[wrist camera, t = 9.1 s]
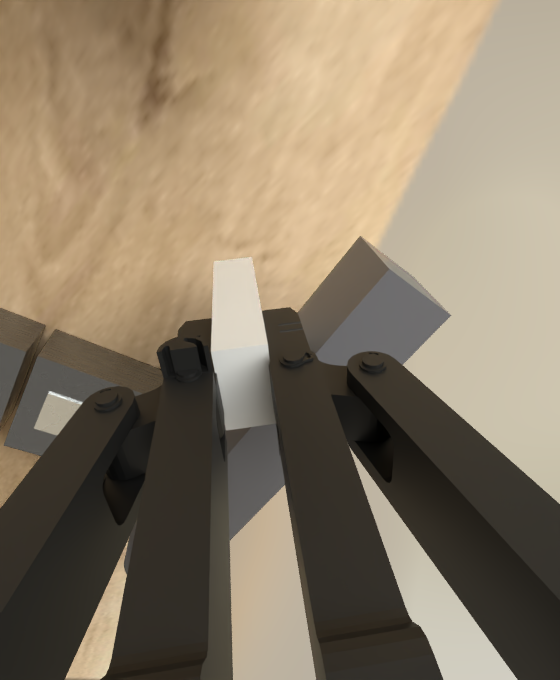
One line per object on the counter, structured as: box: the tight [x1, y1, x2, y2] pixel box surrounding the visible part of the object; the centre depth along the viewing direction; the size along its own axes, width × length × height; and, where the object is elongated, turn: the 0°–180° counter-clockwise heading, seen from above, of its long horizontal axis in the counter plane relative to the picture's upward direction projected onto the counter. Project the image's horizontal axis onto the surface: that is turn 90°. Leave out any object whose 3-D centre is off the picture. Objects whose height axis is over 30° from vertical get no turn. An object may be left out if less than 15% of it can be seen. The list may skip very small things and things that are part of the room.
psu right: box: [4, 329, 163, 456], centre depth 23 cm, size 6×6×3 cm
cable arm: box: [124, 236, 451, 574], centre depth 18 cm, size 17×4×4 cm, turn 143°
